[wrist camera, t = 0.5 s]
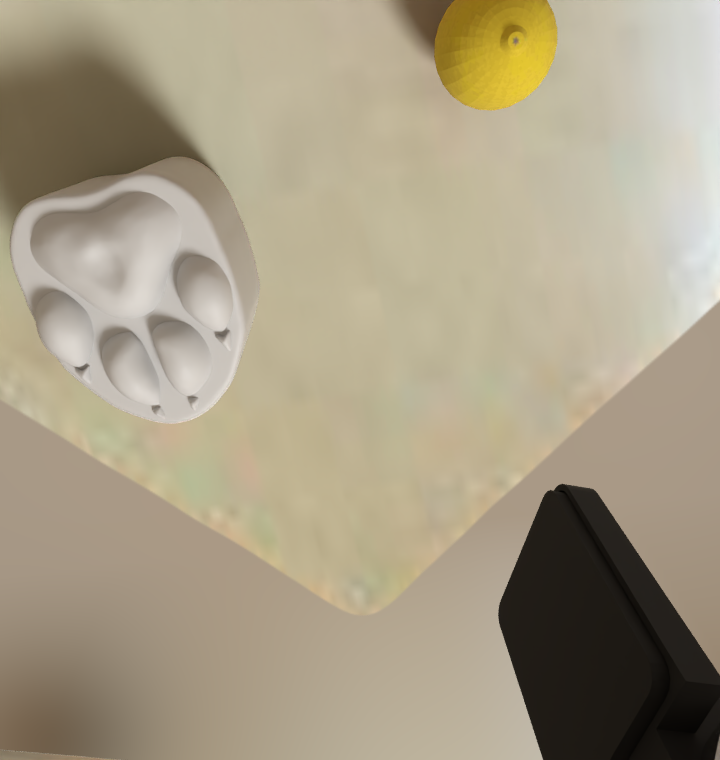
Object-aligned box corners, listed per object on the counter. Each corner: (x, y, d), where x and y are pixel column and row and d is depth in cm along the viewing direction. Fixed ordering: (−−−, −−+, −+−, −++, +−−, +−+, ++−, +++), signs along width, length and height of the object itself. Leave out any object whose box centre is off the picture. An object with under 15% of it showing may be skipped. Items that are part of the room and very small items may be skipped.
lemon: (422, -4, 32) (449, -33, 24) (528, -13, 32) (588, -44, 24) (425, 112, 34) (451, 118, 27) (524, 104, 34) (577, 107, 27)
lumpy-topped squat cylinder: (218, 144, 34) (185, 160, 26) (284, 351, 40) (273, 415, 32) (44, 190, 35) (-39, 219, 27) (133, 388, 40) (86, 459, 33)
